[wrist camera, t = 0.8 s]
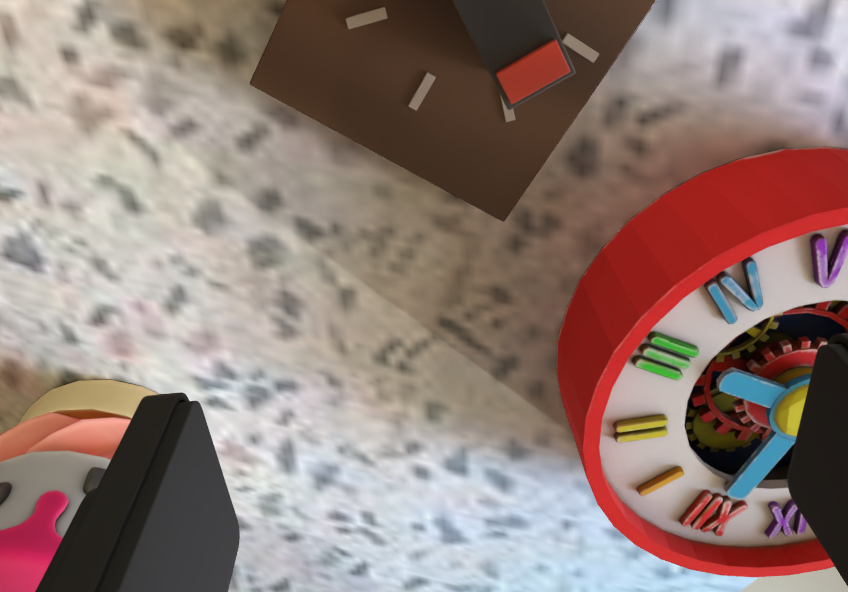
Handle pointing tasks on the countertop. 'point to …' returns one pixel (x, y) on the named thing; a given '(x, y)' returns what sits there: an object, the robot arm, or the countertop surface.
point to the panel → (437, 86)
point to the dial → (516, 46)
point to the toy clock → (710, 360)
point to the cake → (56, 470)
